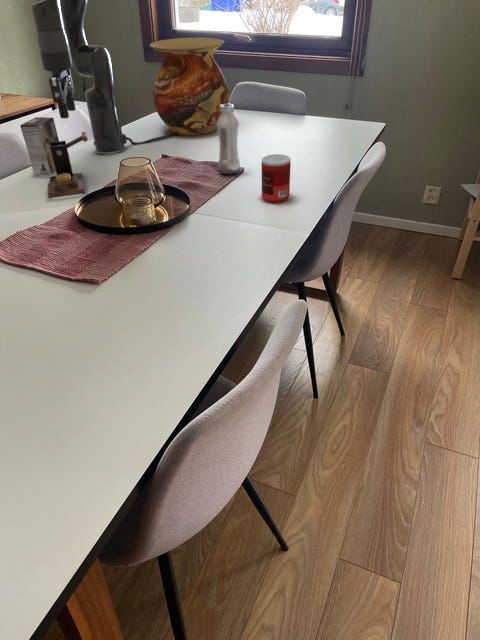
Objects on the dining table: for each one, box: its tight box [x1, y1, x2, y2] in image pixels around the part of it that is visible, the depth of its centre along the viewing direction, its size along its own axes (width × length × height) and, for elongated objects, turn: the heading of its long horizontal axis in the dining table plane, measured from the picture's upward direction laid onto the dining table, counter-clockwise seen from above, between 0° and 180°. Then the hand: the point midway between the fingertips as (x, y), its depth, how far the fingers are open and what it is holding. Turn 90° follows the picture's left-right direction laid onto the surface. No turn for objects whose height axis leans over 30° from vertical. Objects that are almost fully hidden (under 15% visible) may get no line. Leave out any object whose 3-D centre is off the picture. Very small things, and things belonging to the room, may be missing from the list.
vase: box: [149, 37, 230, 136], centre depth 188 cm, size 29×29×30 cm
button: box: [55, 173, 71, 183], centre depth 144 cm, size 4×4×2 cm
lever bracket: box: [49, 140, 84, 184], centre depth 150 cm, size 10×8×12 cm
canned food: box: [261, 153, 292, 204], centre depth 136 cm, size 8×8×11 cm
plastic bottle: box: [216, 103, 241, 175], centre depth 150 cm, size 6×7×20 cm
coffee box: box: [20, 116, 60, 176], centre depth 157 cm, size 9×6×16 cm
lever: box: [57, 131, 89, 150], centre depth 148 cm, size 11×5×2 cm, turn 106°
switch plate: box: [47, 176, 86, 199], centre depth 145 cm, size 10×8×4 cm
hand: (68, 114), depth 140 cm, fingers open, 8 cm apart
